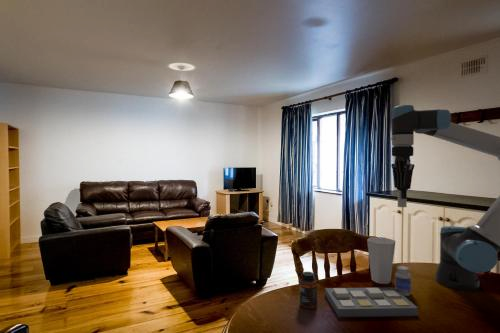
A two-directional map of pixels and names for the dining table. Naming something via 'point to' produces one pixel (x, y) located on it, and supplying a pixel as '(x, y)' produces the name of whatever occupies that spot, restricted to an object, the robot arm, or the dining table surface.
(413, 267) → the dining table surface
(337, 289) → the button
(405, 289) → the pill bottle
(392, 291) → the button
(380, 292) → the button
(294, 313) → the dining table surface
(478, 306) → the dining table surface
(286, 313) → the dining table surface
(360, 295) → the button
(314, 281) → the supplement bottle
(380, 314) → the board
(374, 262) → the cup
